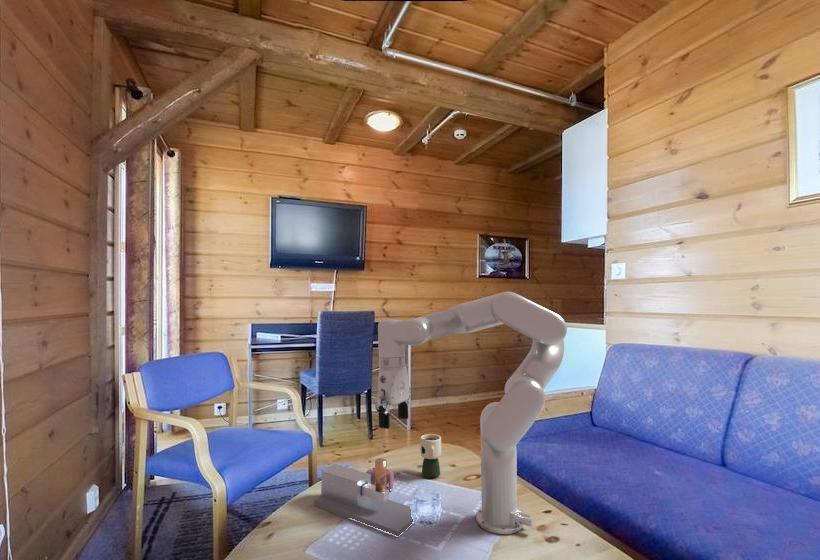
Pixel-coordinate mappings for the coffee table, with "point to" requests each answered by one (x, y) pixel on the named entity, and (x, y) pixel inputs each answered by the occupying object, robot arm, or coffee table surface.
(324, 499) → the base board
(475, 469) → the coffee table surface
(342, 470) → the block
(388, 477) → the video game controller
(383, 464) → the shaft
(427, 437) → the character mug
